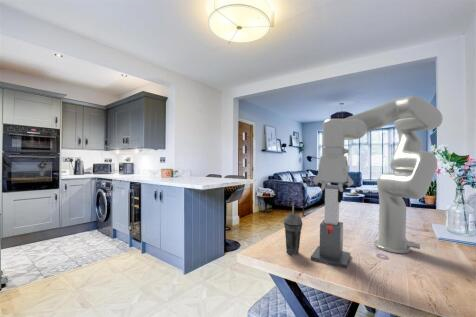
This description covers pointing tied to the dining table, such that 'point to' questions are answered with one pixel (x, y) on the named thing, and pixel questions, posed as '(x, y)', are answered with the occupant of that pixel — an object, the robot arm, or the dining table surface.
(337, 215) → the column
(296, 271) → the dining table surface
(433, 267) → the dining table surface
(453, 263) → the dining table surface
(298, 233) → the beverage cup
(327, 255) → the stand
